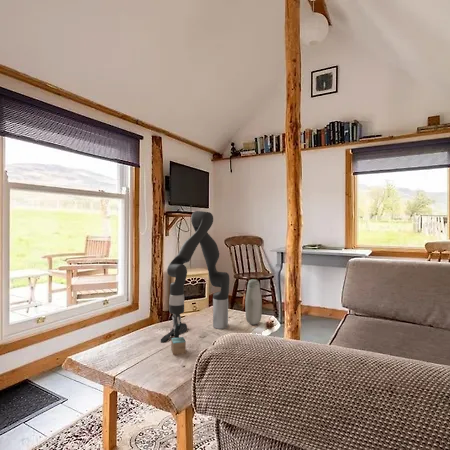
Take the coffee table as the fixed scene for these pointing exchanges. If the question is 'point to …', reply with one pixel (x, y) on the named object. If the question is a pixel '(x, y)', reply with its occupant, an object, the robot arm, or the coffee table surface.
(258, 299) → the grey green rounded cylinder
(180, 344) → the two tone block
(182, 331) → the hairbrush
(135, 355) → the coffee table surface
